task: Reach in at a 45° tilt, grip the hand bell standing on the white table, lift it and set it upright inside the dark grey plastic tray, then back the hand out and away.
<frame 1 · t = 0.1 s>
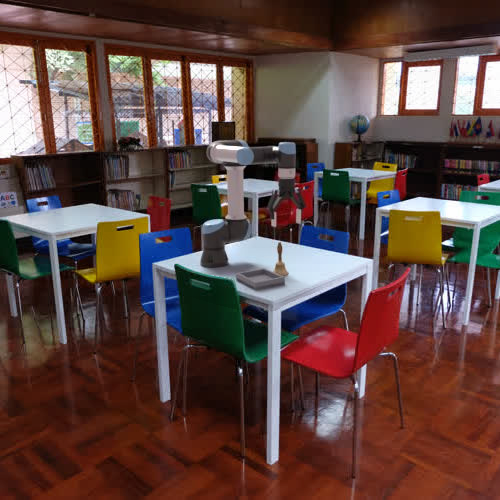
hand: (286, 224, 226), 28 cm above the table, tool pointing down, fingers open, 13 cm apart
hand bell: (280, 273, 249), on the table
tray: (260, 282, 236), on the table
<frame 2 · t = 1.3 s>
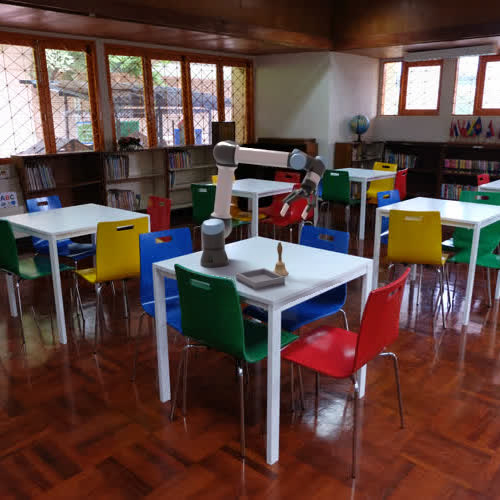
hand: (292, 216, 249), 28 cm above the table, tool tilted 45°, fingers open, 13 cm apart
nothing on the table moved.
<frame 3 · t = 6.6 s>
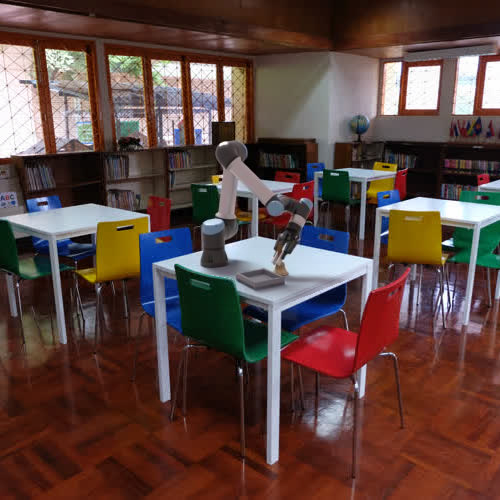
hand: (275, 263, 245), 6 cm above the table, tool tilted 45°, fingers closed on hand bell, 2 cm apart
hand bell: (280, 273, 249), on the table, touching gripper
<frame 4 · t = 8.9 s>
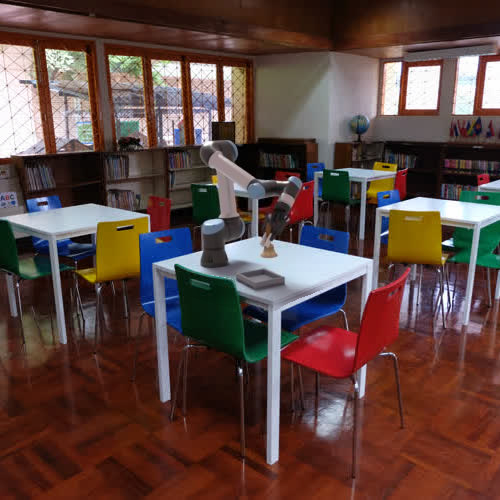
hand: (263, 245, 232), 18 cm above the table, tool tilted 45°, fingers closed on hand bell, 2 cm apart
hand bell: (269, 256, 236), point 12 cm above the table, touching gripper
when the fingers open (9 cm above the table, at t = 11.2 s): hand bell drops 2 cm, resting on tray.
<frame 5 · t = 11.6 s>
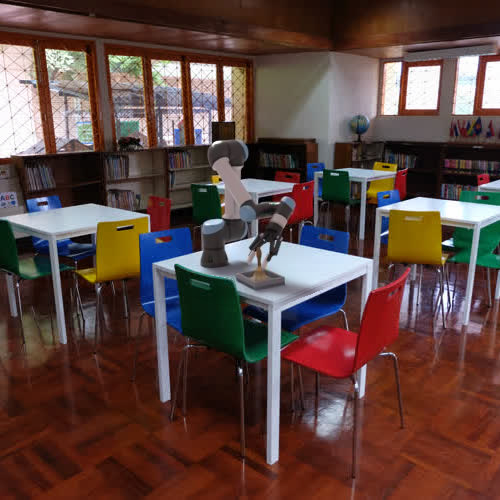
hand: (255, 264, 231), 9 cm above the table, tool tilted 45°, fingers open, 8 cm apart
hand bell: (259, 280, 235), point 1 cm above the table, touching tray
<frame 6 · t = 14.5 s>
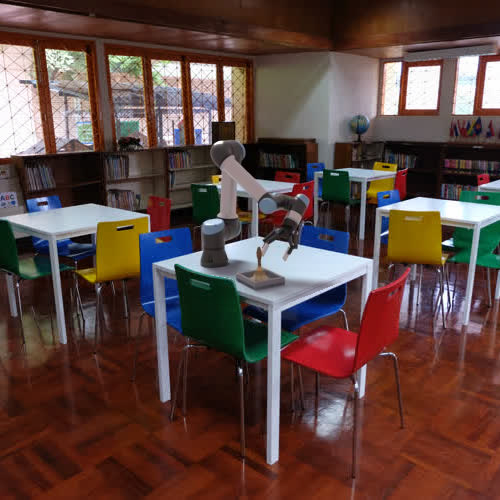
hand: (272, 257, 240), 10 cm above the table, tool tilted 45°, fingers open, 13 cm apart
nothing on the table moved.
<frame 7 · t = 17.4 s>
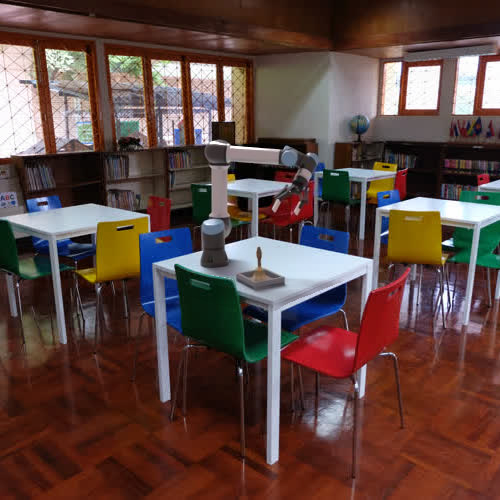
hand: (284, 212, 249), 30 cm above the table, tool tilted 45°, fingers open, 13 cm apart
nothing on the table moved.
at the end: hand bell inside the target area on the tray (0.1 cm from its centre), point 1.0 cm above the tray's base; hand bell tilted 0°; the gripper is holding nothing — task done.
